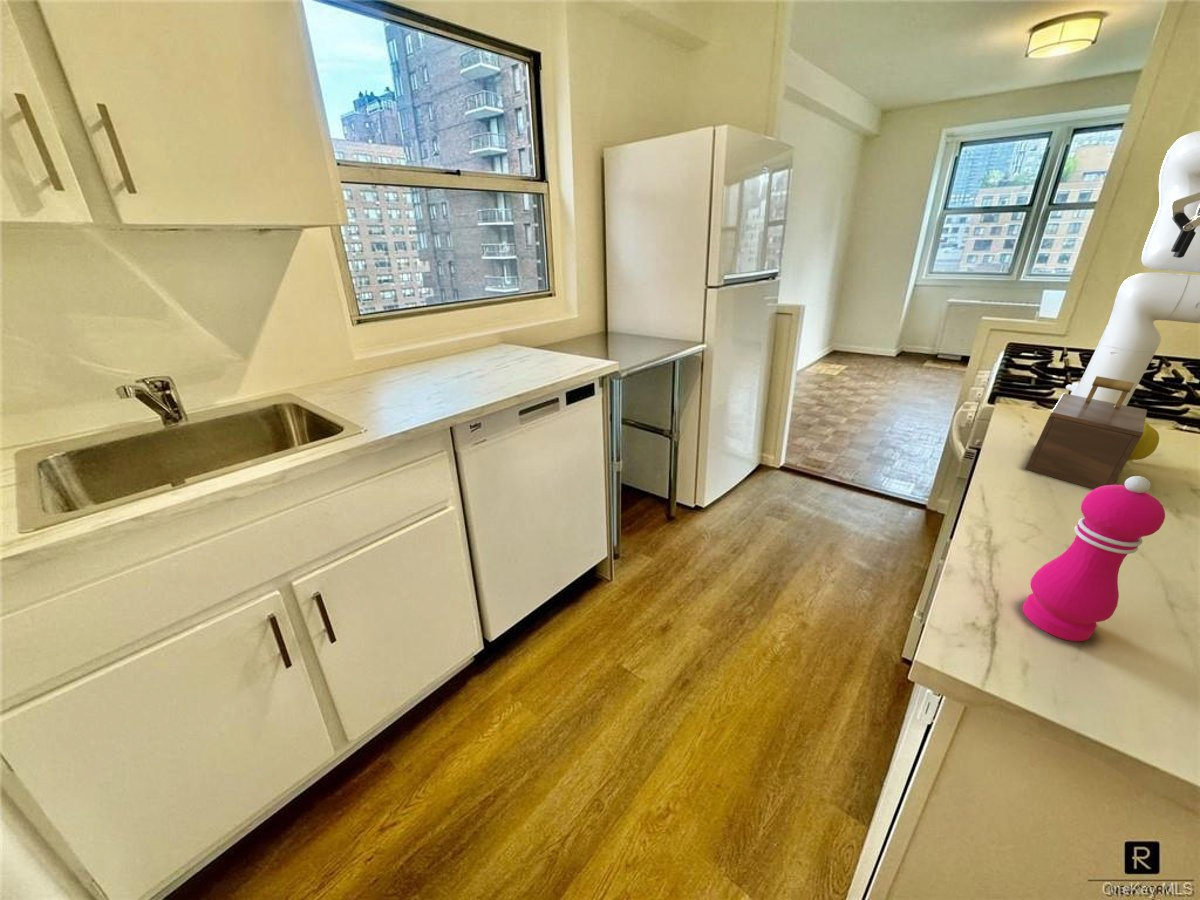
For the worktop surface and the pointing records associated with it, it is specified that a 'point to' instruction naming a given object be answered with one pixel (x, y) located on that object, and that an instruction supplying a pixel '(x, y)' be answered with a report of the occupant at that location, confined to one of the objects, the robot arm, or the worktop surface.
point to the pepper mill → (1093, 560)
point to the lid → (1102, 409)
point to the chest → (1081, 453)
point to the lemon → (1145, 444)
